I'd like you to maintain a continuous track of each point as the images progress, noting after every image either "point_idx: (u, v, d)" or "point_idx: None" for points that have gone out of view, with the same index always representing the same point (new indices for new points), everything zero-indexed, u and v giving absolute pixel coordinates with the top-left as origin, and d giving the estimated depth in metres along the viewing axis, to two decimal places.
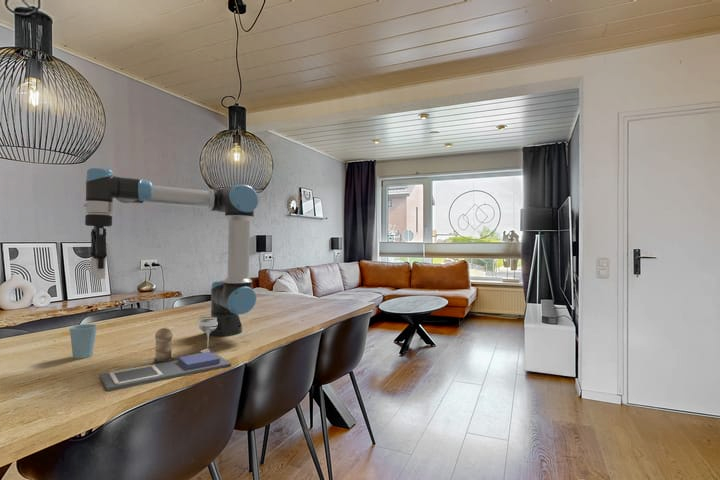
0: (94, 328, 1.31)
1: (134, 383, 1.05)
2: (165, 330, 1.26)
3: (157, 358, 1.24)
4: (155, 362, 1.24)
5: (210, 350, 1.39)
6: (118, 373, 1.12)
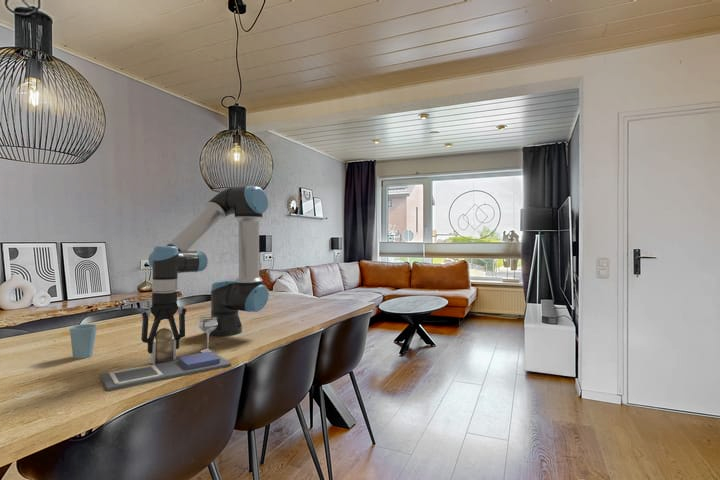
0: (94, 328, 1.31)
1: (134, 383, 1.05)
2: (165, 330, 1.26)
3: (157, 358, 1.24)
4: (155, 362, 1.24)
5: (210, 350, 1.39)
6: (118, 373, 1.12)
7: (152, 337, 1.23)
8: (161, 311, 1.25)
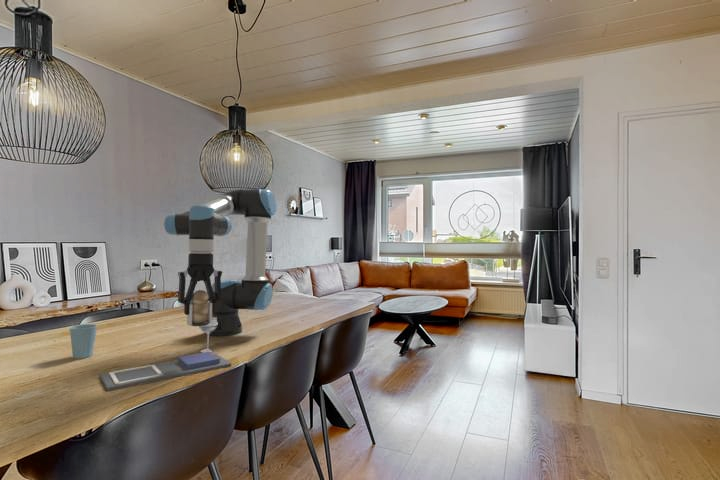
0: (94, 328, 1.31)
1: (134, 383, 1.05)
2: (202, 292, 1.23)
3: (194, 320, 1.21)
4: (192, 324, 1.21)
5: (210, 350, 1.39)
6: (118, 373, 1.12)
7: (189, 298, 1.20)
8: (198, 272, 1.22)
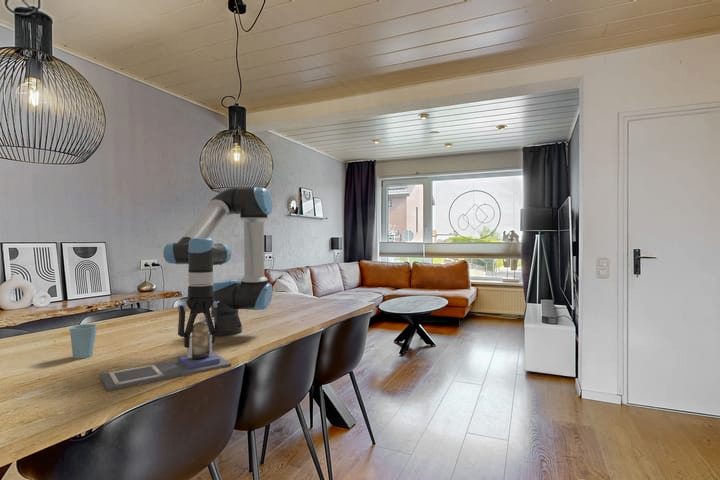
0: (94, 328, 1.31)
1: (134, 383, 1.05)
2: (201, 324, 1.23)
3: (194, 352, 1.22)
4: (192, 357, 1.22)
5: None
6: (118, 373, 1.12)
7: (189, 331, 1.21)
8: (197, 305, 1.22)
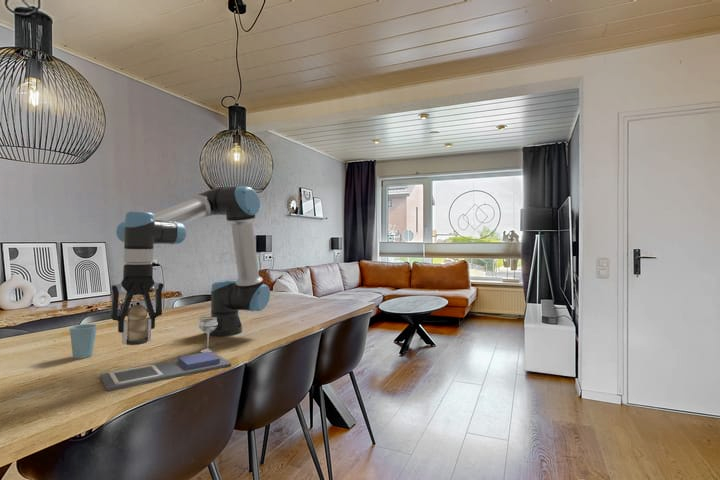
0: (94, 328, 1.31)
1: (134, 383, 1.05)
2: (138, 307, 1.11)
3: (129, 338, 1.10)
4: None
5: (210, 350, 1.39)
6: (118, 373, 1.12)
7: (123, 314, 1.09)
8: (134, 285, 1.10)
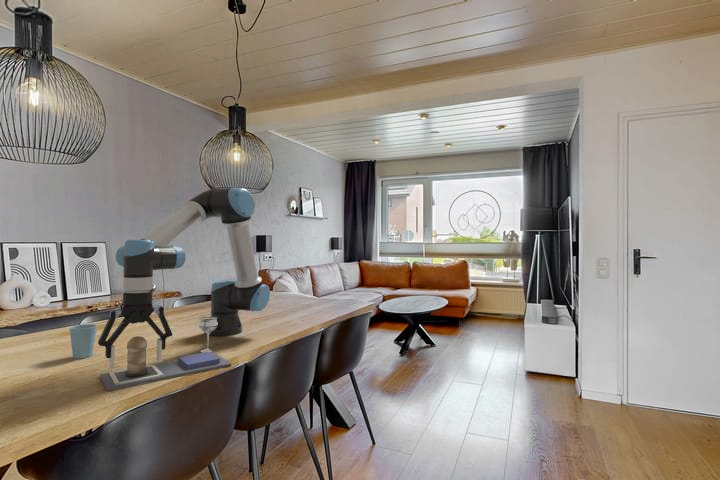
0: (94, 328, 1.31)
1: (134, 383, 1.05)
2: (138, 339, 1.11)
3: (129, 370, 1.10)
4: (126, 375, 1.09)
5: (210, 350, 1.39)
6: (118, 373, 1.12)
7: (112, 340, 1.07)
8: (133, 313, 1.10)
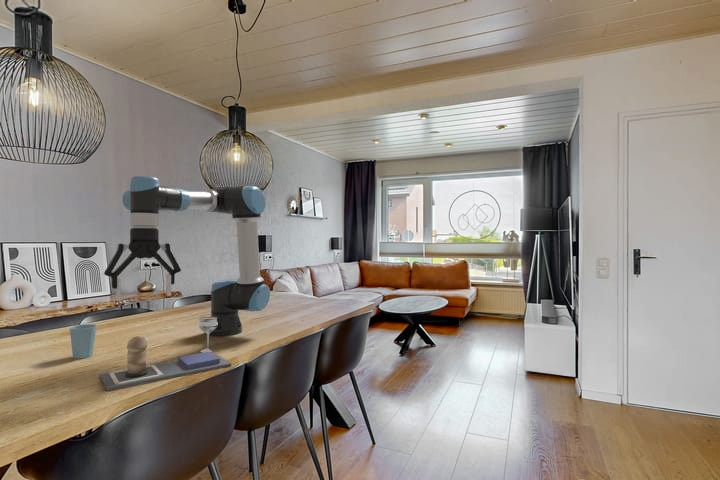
0: (94, 328, 1.31)
1: (134, 383, 1.05)
2: (138, 339, 1.11)
3: (129, 370, 1.10)
4: (126, 375, 1.09)
5: (210, 350, 1.39)
6: (118, 373, 1.12)
7: (118, 271, 1.09)
8: (141, 248, 1.12)
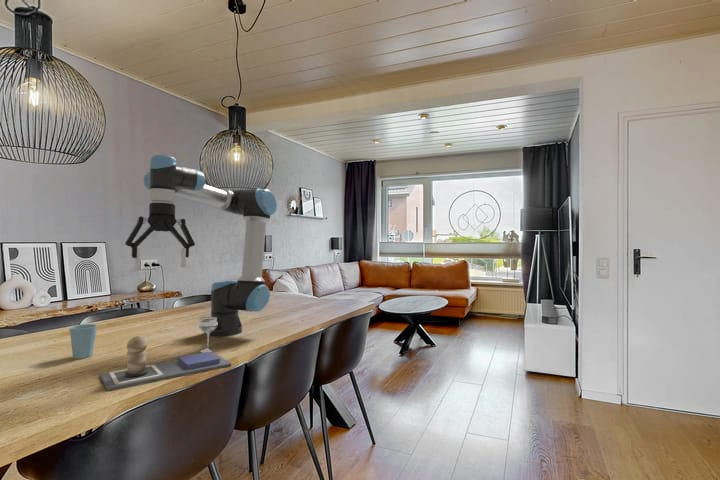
0: (94, 328, 1.31)
1: (134, 383, 1.05)
2: (138, 339, 1.11)
3: (129, 370, 1.10)
4: (126, 375, 1.09)
5: (210, 350, 1.39)
6: (118, 373, 1.12)
7: (138, 242, 1.18)
8: (159, 221, 1.21)
